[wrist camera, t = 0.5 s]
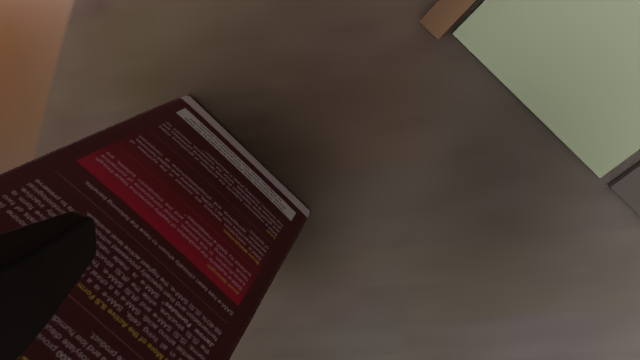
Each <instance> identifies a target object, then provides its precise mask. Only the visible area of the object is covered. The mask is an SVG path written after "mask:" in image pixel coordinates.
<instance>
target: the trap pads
mask: <svg viewBox="0 0 640 360" xmlns="http://www.w3.org/2000/svg"><path fill="white" fill-rule="evenodd" d="M608 185H609V187H610V188H611V189H612V190H613V191H615V192H616V193H617V194H618V195H619V196H620V197H621V198H622V199H623V200H624V201H625V202H626V203H627V204H628V205H629V206H630V207H631V208H632V209H633V210H634V211H635V212H636V213H637V214H638V215H639V216H640V162H638V163H637V164H636V165H634V166H633V167H632V168H630V169H629V170H627V171H626V172H625V173H623V174H622V175H621V176H619V177H618V178H616V179H615V180H614V181H612V182H611V183H610V184H608Z"/></svg>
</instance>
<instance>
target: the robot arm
mask: <svg viewBox="0 0 640 360" xmlns="http://www.w3.org/2000/svg"><path fill="white" fill-rule="evenodd" d="M96 249H97V246H96V231H95V222H94V220H93V218H91V217H89V216H87V215H84V214H81V213H79V212H76V211H70V212H66V213H63V214H60V215H57V216H54V217H51V218H47V219H44V220H41V221H38V222H35V223H32V224H29V225H26V226H23V227H20V228H17V229H14V230H10V231H7V232H4V233H1V234H0V360H17V358H18V357H19V356H20V355H21V354H22V353H23V352H24V351H25V349H26V348H27V347H28V346H29V345H30V344H31V343H32V341H33V340H34V339H35V338H36V337H37V336H38V334H39V333H40V332H41V331H42V330H43V328H44V327H45V326H46V325H47V323H48V322H49V321H50V319H51V318H52V317H53V315H54V314H55V313H56V311H57V310H58V308H59V307H60V306H61V304H62V303H63V301H64V300H65V299H66V297H67V296H68V294H69V293H70V292H71V290H72V289H73V287H74V286H75V285H76V283H77V282H78V280H79V279H80V278H81V276H82V275H83V273H84V272H85V271H86V269H87V268H88V266H89V265H90V264H91V262H92V261H93V259H94V257H95V254H96Z"/></svg>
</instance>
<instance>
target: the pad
mask: <svg viewBox="0 0 640 360" xmlns="http://www.w3.org/2000/svg"><path fill="white" fill-rule="evenodd" d="M452 34H453V35H454V36H455V37H456V38H457V39H458V40H459V41H460V42H461V43H462V44H463V45H464V46H465V47H466V48H467V49H468V50H469V51H470V52H471V53H473V54H474V55H475V56H476V57H477V58H478V59H479V60H480V61H481V62H482V63H483V64H484V65H485V66H486V67H487V68H488V69H489V70H490V71H491V72H492V73H493V74H494V75H495V76H496V77H497V78H498V79H499V80H500V81H501V82H502V83H503V84H504V85H505V86H506V87H507V88H508V89H509V90H510V91H511V92H512V93H513V94H514V95H515V96H516V97H517V98H518V99H520V100H521V101H522V102H523V103H524V104H525V105H526V106H527V107H528V108H529V109H530V110H531V111H532V112H533V113H534V114H535V115H536V116H537V117H538V118H539V119H540V120H541V121H542V122H543V123H544V124H545V125H546V126H547V127H548V128H549V129H550V130H551V131H552V132H553V133H554V134H555V135H556V136H557V137H558V138H559V139H560V140H561V141H562V142H563V143H564V144H565V145H566V146H568V147H569V148H570V149H571V150H572V151H573V152H574V153H575V154H576V155H577V156H578V157H579V158H580V159H581V160H582V161H583V162H584V163H585V164H586V165H587V166H588V167H589V168H590V169H591V170H592V171H593V172H594V173H595V174H596V175H597V176H598V177H599V178H601V177H602V176H604V175H605V174H607V173H608V172H609V171H611V170H612V169H613V168H615V167H616V166H617V165H619V164H620V163H621V162H623V161H624V160H626V159H627V158H628V157H630V156H631V155H632V154H634V153H635V152H636V151H638V150H639V149H640V0H484V1H483V2H482V3H481V4H480V5H479V6H478V7H477V8H476V9H475V10H474V11H473V12H472V13H471V14H470V15H469V16H468V17H467V19H466V20H465V21H464V22H463V23H462V24H461V25H460V26H459V27H458V28H457V29H456V30H455V31H454V32H453V33H452Z"/></svg>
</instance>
